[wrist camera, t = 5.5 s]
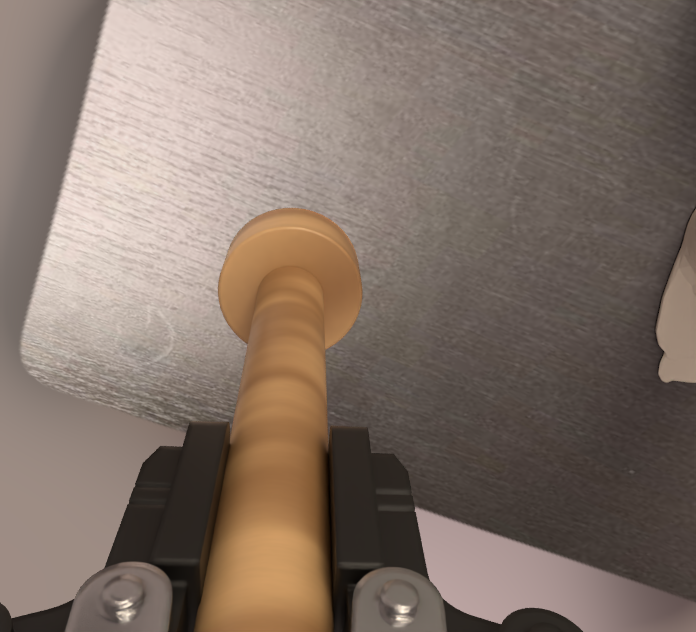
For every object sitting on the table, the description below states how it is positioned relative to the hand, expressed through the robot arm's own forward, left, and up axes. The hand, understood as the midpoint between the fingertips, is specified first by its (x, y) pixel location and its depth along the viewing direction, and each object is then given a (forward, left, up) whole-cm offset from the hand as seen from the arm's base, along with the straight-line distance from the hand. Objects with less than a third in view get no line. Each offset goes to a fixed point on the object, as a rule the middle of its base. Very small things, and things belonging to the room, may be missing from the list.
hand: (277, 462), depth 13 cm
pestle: (0, 0, -10) cm, 10 cm away
